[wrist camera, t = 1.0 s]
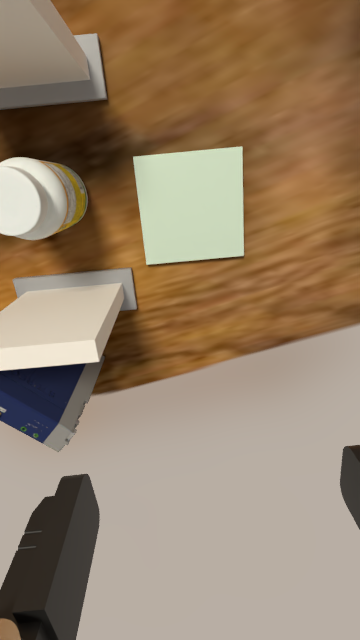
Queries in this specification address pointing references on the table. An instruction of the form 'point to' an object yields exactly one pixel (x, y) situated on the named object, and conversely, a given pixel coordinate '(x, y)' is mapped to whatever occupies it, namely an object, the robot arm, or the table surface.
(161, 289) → the table surface
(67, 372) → the cassette player
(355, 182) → the table surface
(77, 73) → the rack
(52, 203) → the supplement bottle
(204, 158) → the pad
